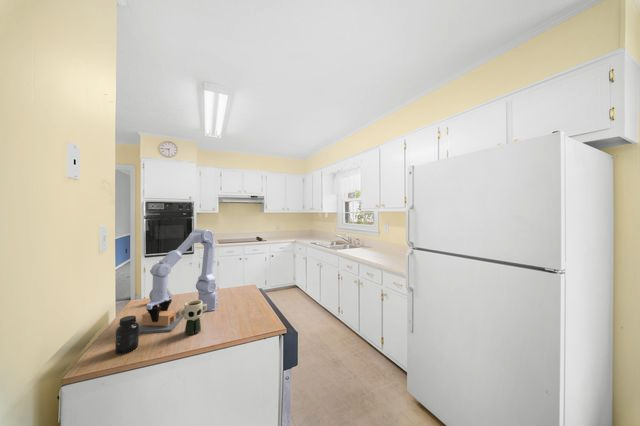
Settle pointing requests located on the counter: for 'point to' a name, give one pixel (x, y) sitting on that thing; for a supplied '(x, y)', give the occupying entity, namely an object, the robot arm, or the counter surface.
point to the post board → (159, 327)
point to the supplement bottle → (127, 335)
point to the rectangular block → (159, 318)
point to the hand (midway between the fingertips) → (159, 318)
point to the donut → (151, 293)
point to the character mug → (193, 315)
